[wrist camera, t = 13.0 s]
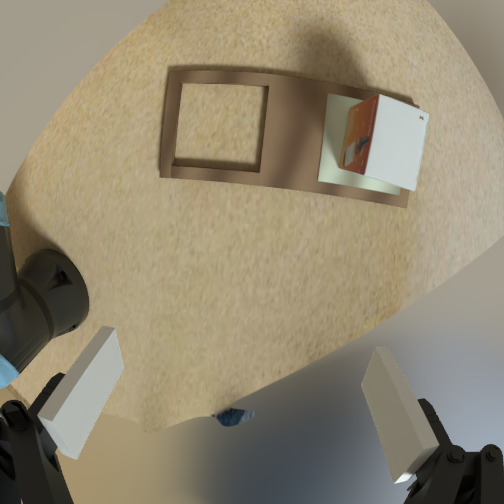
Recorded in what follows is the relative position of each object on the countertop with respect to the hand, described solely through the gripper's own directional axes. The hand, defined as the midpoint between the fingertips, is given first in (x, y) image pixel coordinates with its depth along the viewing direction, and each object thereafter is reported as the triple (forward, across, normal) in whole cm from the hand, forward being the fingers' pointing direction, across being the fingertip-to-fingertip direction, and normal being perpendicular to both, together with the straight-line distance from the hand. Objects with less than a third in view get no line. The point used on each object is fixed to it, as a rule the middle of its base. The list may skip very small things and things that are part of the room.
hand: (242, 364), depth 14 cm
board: (+26, +4, +13) cm, 29 cm away
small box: (+24, +13, +12) cm, 30 cm away
